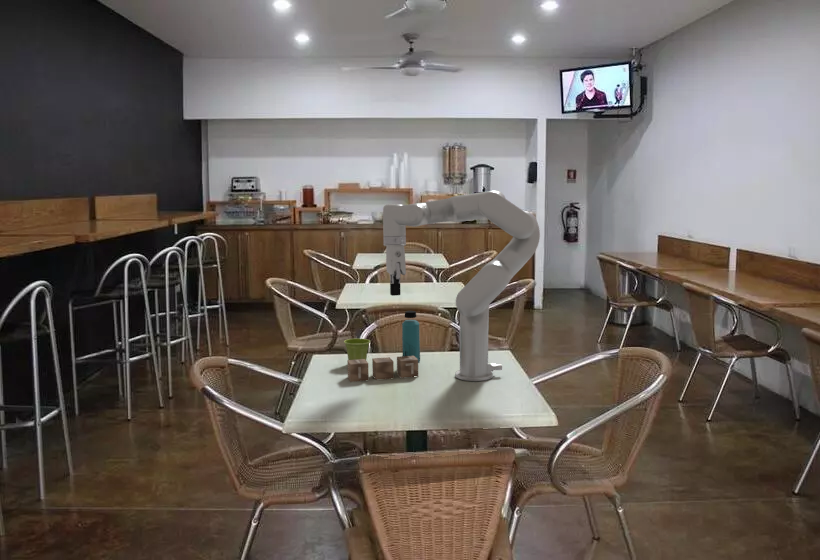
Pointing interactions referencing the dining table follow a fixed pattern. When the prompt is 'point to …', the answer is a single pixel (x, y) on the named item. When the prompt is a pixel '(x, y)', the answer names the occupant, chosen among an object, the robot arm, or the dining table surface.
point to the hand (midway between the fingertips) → (395, 294)
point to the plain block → (383, 368)
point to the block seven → (407, 366)
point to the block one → (358, 370)
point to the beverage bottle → (411, 336)
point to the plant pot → (357, 348)
